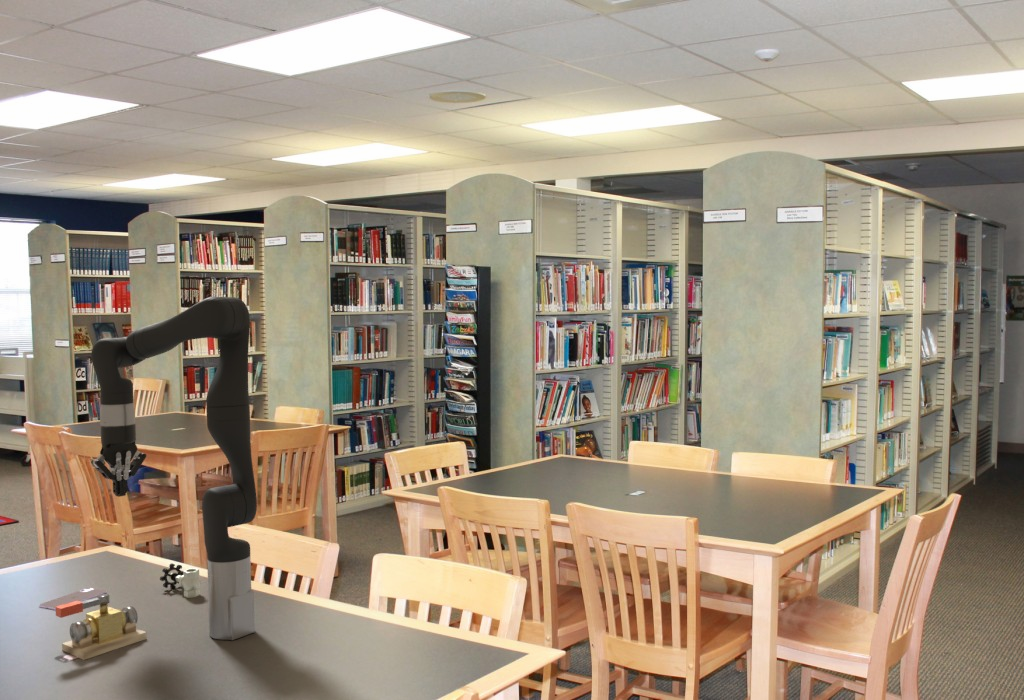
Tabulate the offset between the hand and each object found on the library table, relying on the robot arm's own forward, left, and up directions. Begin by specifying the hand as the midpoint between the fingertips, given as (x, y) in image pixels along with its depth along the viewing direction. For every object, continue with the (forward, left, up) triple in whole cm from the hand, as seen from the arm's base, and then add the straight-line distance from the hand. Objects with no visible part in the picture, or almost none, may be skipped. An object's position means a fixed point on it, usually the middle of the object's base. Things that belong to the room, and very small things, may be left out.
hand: (120, 495), depth 207 cm
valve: (+4, -19, -29) cm, 35 cm away
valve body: (-13, +12, -27) cm, 33 cm away
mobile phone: (+23, 0, -30) cm, 37 cm away
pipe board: (-13, +12, -29) cm, 34 cm away
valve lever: (-13, +16, -20) cm, 29 cm away
